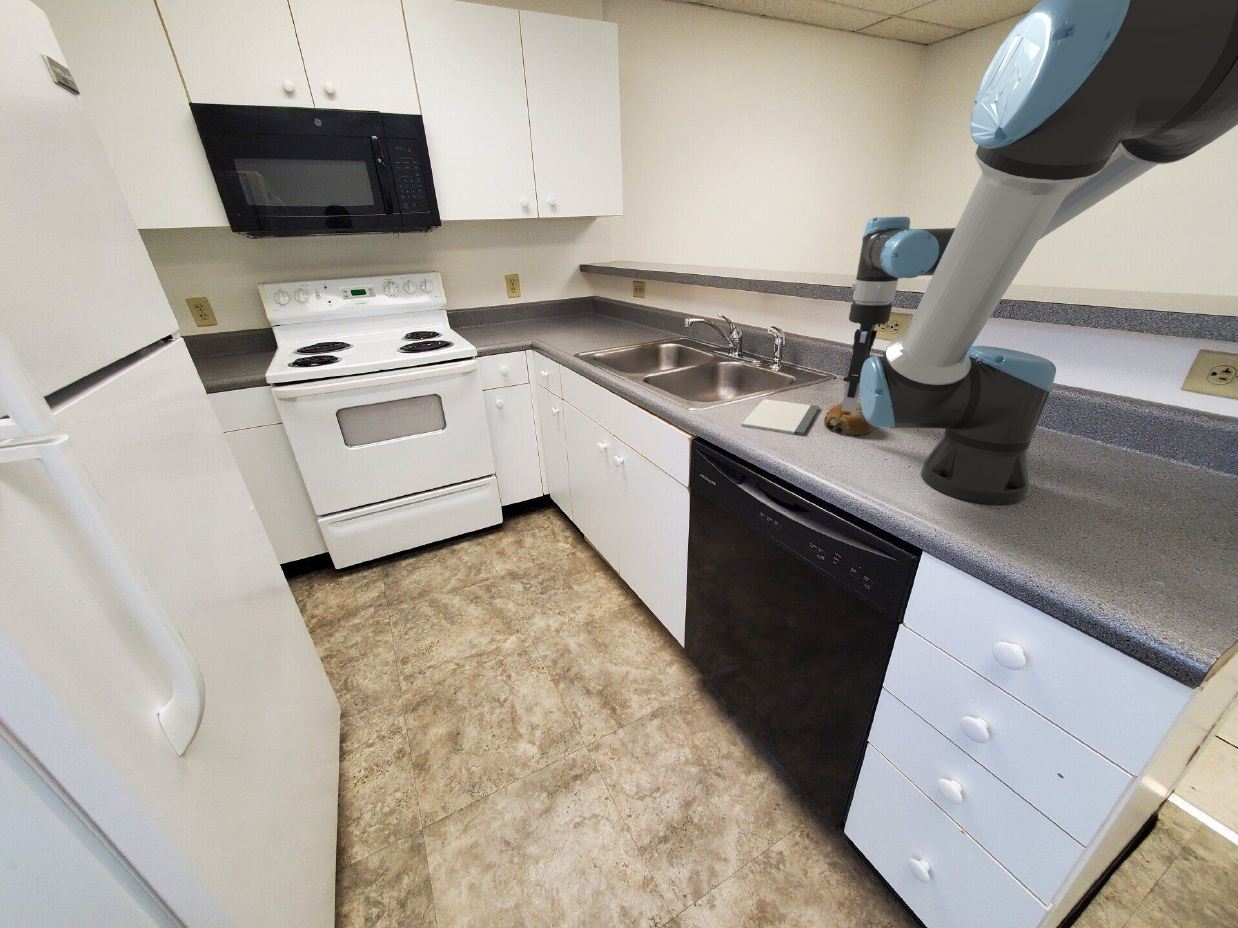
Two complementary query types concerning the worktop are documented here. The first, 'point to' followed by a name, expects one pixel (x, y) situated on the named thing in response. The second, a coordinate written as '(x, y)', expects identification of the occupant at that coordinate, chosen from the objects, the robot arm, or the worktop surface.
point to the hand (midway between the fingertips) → (852, 401)
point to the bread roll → (847, 421)
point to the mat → (781, 417)
